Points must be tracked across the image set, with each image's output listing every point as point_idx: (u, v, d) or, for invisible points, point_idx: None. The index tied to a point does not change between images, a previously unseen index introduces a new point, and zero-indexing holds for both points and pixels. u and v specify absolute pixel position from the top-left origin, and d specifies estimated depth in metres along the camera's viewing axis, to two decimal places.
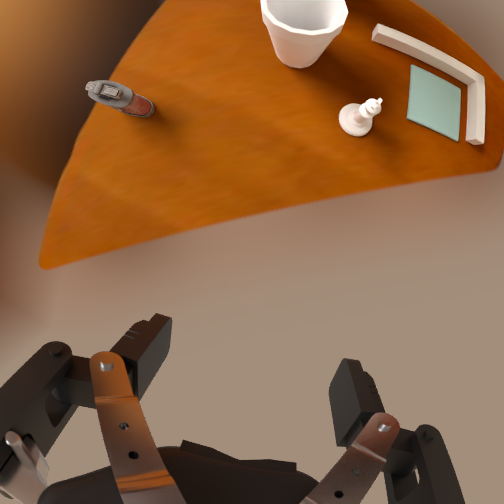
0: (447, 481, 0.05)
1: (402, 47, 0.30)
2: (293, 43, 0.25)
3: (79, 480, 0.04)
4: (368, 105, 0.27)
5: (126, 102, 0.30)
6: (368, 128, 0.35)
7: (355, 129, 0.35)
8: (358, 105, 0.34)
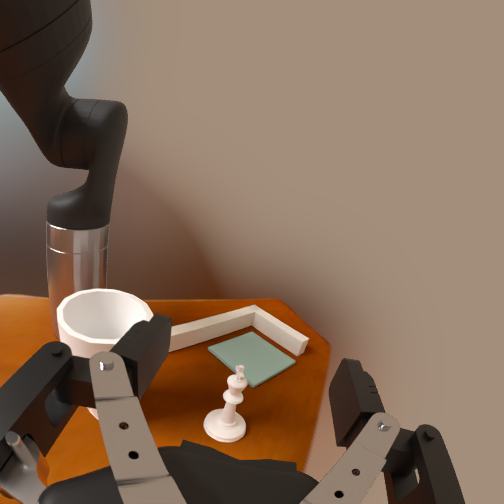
0: (447, 481, 0.05)
1: (189, 338, 0.41)
2: None
3: (79, 480, 0.04)
4: (234, 383, 0.25)
5: None
6: (243, 420, 0.29)
7: (236, 431, 0.27)
8: (213, 411, 0.29)
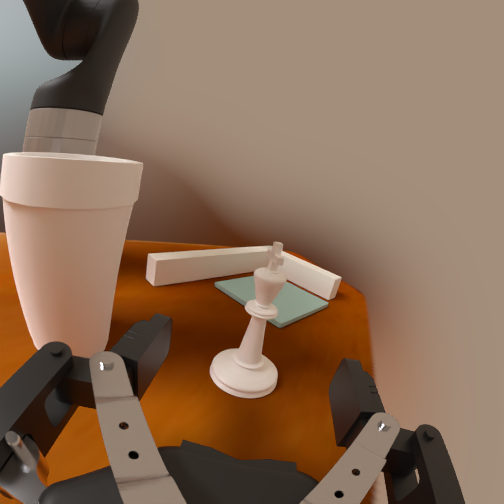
0: (447, 481, 0.05)
1: (191, 269, 0.32)
2: (72, 220, 0.12)
3: (79, 480, 0.04)
4: (266, 275, 0.16)
5: None
6: (272, 364, 0.20)
7: (263, 378, 0.18)
8: (225, 351, 0.20)
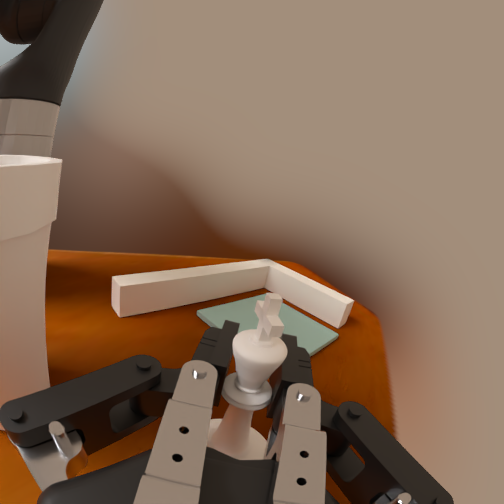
0: (395, 454, 0.06)
1: (166, 295, 0.25)
2: None
3: (79, 480, 0.04)
4: (252, 350, 0.09)
5: None
6: (265, 443, 0.13)
7: None
8: None
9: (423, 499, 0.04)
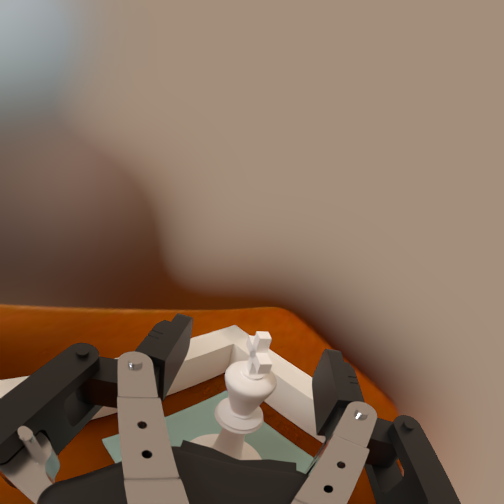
0: (432, 471, 0.05)
1: None
2: None
3: (79, 480, 0.04)
4: (243, 383, 0.09)
5: None
6: (258, 458, 0.13)
7: None
8: (197, 440, 0.13)
9: None
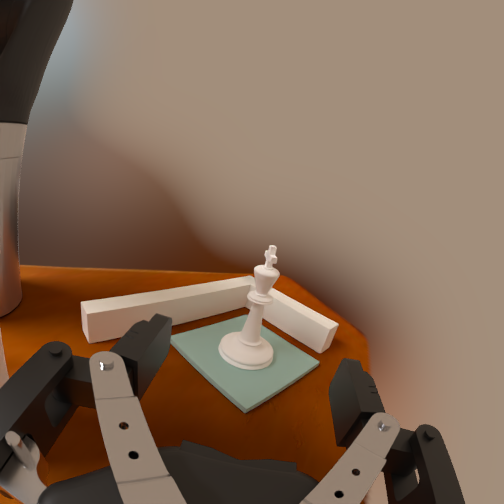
0: (447, 481, 0.05)
1: (137, 320, 0.23)
2: None
3: (79, 480, 0.04)
4: (263, 270, 0.22)
5: None
6: (269, 344, 0.25)
7: (261, 354, 0.23)
8: (231, 333, 0.25)
9: None
